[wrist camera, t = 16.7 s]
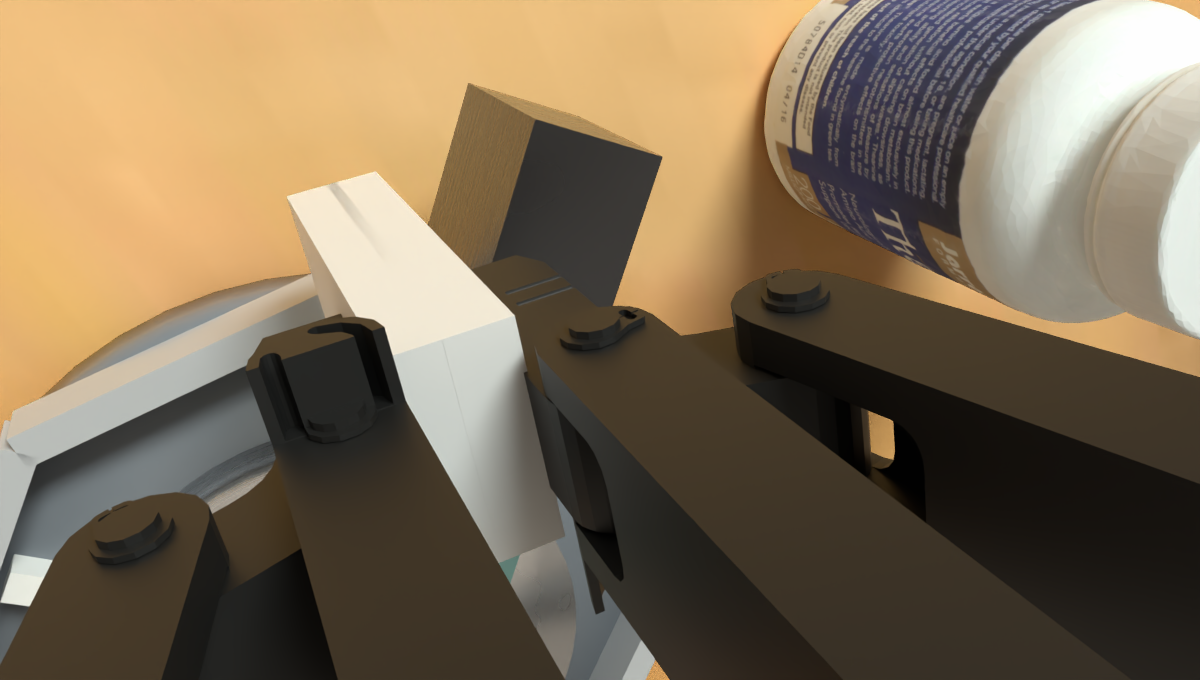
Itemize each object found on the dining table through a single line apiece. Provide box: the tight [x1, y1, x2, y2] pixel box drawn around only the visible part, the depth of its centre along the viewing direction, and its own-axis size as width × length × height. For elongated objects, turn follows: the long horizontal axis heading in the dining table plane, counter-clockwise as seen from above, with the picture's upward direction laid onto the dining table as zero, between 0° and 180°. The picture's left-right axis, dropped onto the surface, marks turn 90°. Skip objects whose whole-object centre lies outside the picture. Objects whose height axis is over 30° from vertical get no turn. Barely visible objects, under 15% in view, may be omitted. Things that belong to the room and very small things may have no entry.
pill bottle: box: [764, 0, 1200, 339], centre depth 19 cm, size 5×5×10 cm
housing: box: [0, 274, 655, 680], centre depth 22 cm, size 14×14×2 cm
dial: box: [179, 83, 662, 678], centre depth 19 cm, size 16×9×5 cm, turn 162°
